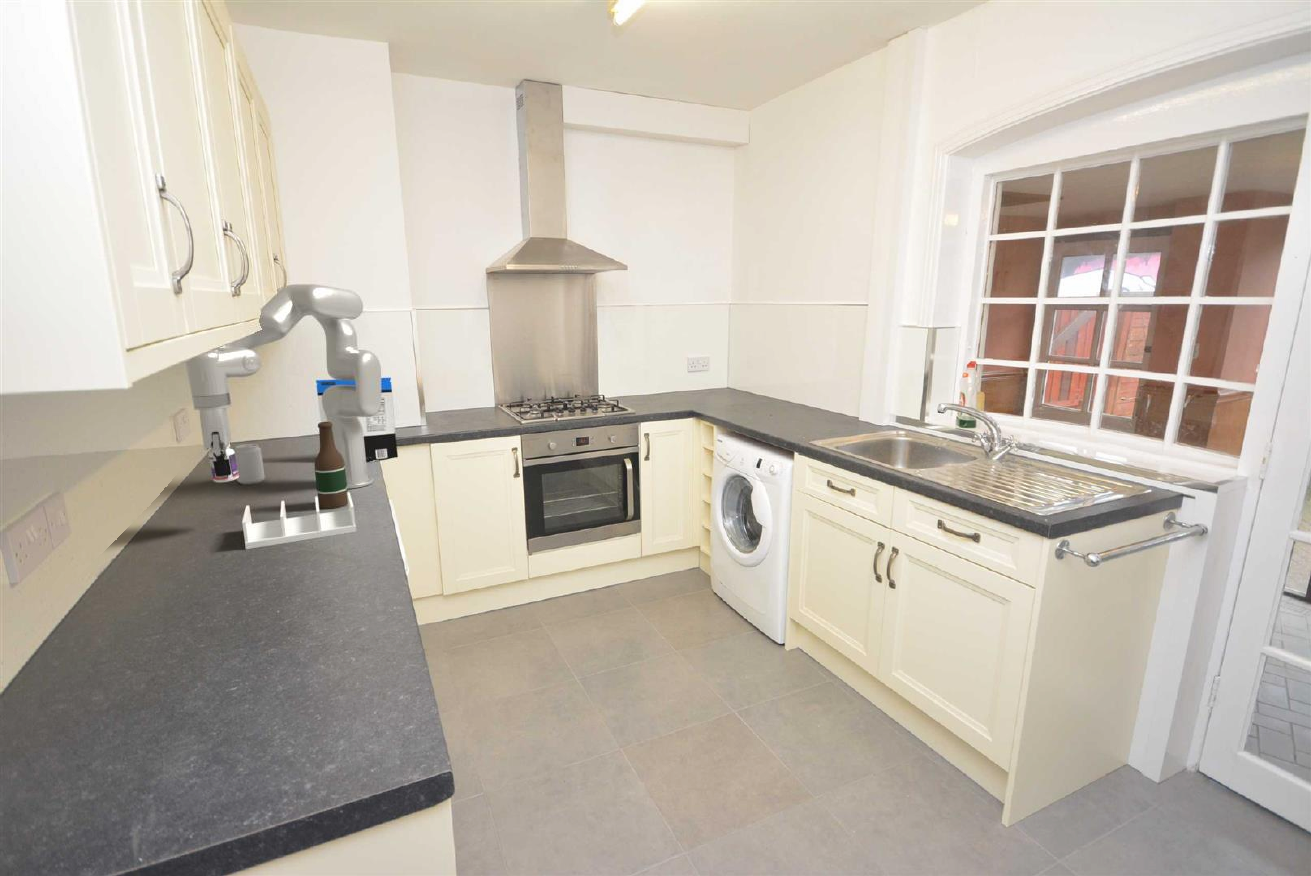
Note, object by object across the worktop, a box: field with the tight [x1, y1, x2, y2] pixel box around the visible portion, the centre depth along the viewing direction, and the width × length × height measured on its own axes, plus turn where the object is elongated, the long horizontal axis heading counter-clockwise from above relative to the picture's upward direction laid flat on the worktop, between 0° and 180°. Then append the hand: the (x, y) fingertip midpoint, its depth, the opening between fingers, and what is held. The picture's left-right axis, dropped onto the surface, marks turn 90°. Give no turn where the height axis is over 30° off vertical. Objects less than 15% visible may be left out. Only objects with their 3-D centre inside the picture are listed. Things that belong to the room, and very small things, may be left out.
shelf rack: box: [241, 491, 357, 550], centre depth 156 cm, size 15×23×6 cm, turn 120°
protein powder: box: [315, 377, 399, 463], centre depth 225 cm, size 10×24×30 cm, turn 111°
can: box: [233, 443, 265, 485], centre depth 199 cm, size 8×8×12 cm
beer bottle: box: [314, 421, 349, 510], centre depth 174 cm, size 8×8×24 cm
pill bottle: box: [208, 444, 239, 483], centre depth 155 cm, size 5×5×10 cm
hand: (224, 471), depth 156 cm, fingers closed on pill bottle, 5 cm apart
